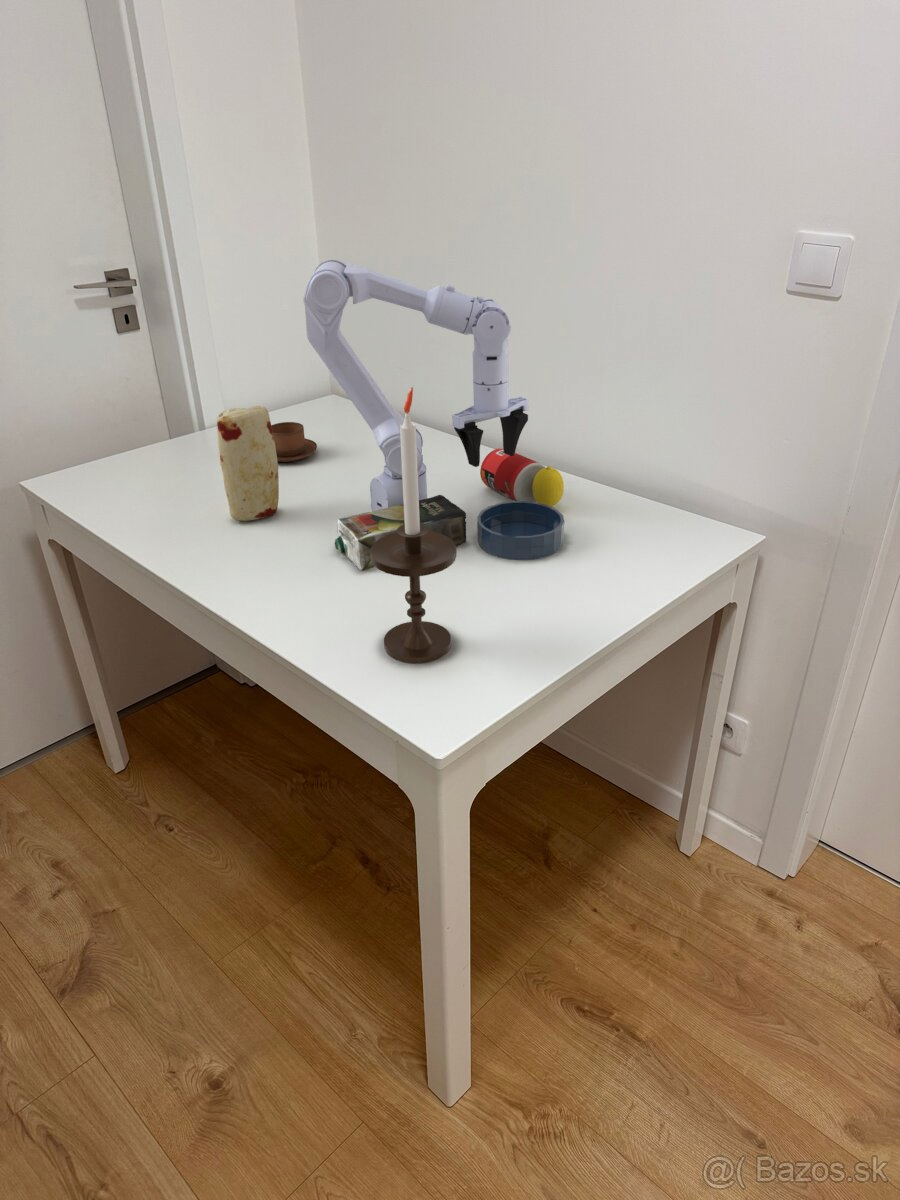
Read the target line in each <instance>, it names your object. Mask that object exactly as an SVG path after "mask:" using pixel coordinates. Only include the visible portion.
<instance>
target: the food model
mask: <svg viewBox="0 0 900 1200" xmlns="http://www.w3.org/2000/svg"><path fill="white" fill-rule="evenodd" d="M271 425H272V422H271V418H270V414H269V410H268V409H267V407H266V406H262V405H256V406H250V407H236V408H229V409H226V410H223V411H221V412H220V413H219V414H218V415H217V417H216V430H217V444H218V452H219V453H218V454H219V462H220V466H221V472H222V473H221V474H222V478H223V485H224V491H225V495H226V499H227V503H228V507H229V508H228V509H229V510H228V511H229V516H230V517H231V519H234V520H237V521H241V522H242V521H243V522H245V521H254V520H261V519H263V518H269V517H272V516H274V515H275V514H276V513H277V510H278V508H279V499H280V497H279V496H280V484H279V462H278V461H277V455H276V448H275V442H274V436H273V432H272V427H271Z"/></svg>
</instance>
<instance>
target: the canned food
mask: <svg viewBox="0 0 900 1200" xmlns="http://www.w3.org/2000/svg"><path fill="white" fill-rule="evenodd" d="M546 467H547V466H545V465H544V464H542V463H540V462H538V461H536V460H534V459H531V458H529V457H526V456H524V455H522V454H519V453H518V452H515V454H514V456H510V455H507V454H505V453H504V449H503V448H495V449H492V451H490V452H489V453H487V455H486V456H485V457H484V459H483V460H482V463H481V465H480V469H479V476H480V479H481V481H482V483H483V484H484V485H485V486H486V487H487V488H489V489H491V490H493V491H494V492H496V493H499V494H501V495H503V496H504V497H506V498H509V499H511V500H512V501H528V502H536V500H535V499H534V496H533V491H532V485H533V481H534V478H535V476H536V474H537V473H538V472H539V471H540V470H541V469H543V468H546Z"/></svg>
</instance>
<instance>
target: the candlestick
mask: <svg viewBox="0 0 900 1200" xmlns="http://www.w3.org/2000/svg"><path fill="white" fill-rule="evenodd" d="M410 389H411V390H410V391H409V392H408V393H407V395H406V401H405V403H404V407H403V411H404V413H405V414H404V423H403V424H402V425H400V439H401V459H402V479H403V499H404V519H405V525H402V526H400V527H399V528H398V529H397V532H396V533H392V534H389V535H386V536H384V537H382V538H380V539H379V540H377V541H376V542H375V543H374V544H373V545H372V547H371V551H370V554H371V561H372V564H373V565H374V568H376V569H377V570H379V571H381V572H383V573H385V574H388V575H392V576H396V577H397V576H398V577H407V578H408V579H409V590H407V591H405V594H404V599H405V601H406V603H407V604H408V605H409V608H408V609H407V610H406V615H407V617H409V618H411V620H410V621H408V622H407V621H406V622H403V623H400V624H397V625H396V626H394V627H391V629H389V630H388V631H387V632H386V634H385V635H384V637H383V648H384V651H385V653H386V654H387V656H388V657H390V658H391V659H393V660H396V661H398V662H401V663H405V664H426V663H431V662H434V661H437V660H439V659H441V658H443V657H444V656H446V654H448V653H449V652H450V650H451V647H452V635H451V633H450V632H449V630H448V629H447V628H446V627H444V626H443V625H441V624H438V623H436V622H431V621H426V620H425V621H423V619H422V618H423V617H424V616H425V615H426V609H425V608H424V607H423V604H424V603H425V601H426V600H427V593H426V592H425V591H424V590H422V589H421V577H423V576H424V577H425V576H430V575H434V574H437V573H440V572H442V571H444V570H447V569H448V568H450V567H451V566H452V565H453V564H454V563H455V561H456V559H457V546H456V545H455V543H454V541H452V540H451V539H450V538H449V537H447V536H445V535H442V534H440V533H436V532H431V531H428V528H427V527H426V526H425V525H422V524H420V518H419V494H418V469H417V444H416V429H417V425H416V424H415V423H413V422H412V419H411V414H410V411H411V407H412V404H413V394H414V387H413V386H411V387H410Z"/></svg>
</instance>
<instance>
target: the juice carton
mask: <svg viewBox="0 0 900 1200" xmlns="http://www.w3.org/2000/svg"><path fill="white" fill-rule="evenodd" d="M419 518H420V524H422V525H425V526H426V527H427V528H428V531H431V532H436V533H440V534H442V535H445V536H447V537H449V538H450V539H451V540H452V541H454V543H455V545H456V547H459V546H462V545H464V544H466V543H467V520H466V519H467V513H466V511H465V510H464V509H462V508H460V506H458V505H457V504H455V503H454V502H452V501H451V500H450V499H448V498H447V497H446V496H444V495H443V494H437V495H435V496H431V497H427V499H423V500H419ZM402 525H405V519H404V504H400V505H396V506H393V507H389V508H385V509H379V510H376V511H372V510H371V511H368V512H363V513H362V512H361V513H359V514H354V515H350V516H346V517H341V518H338V519H337V533H338V534H337V535H338V537H337V538H335V539H334V547H335V550H338V551H339V552H340V553H341V554H343V555H345V556H346V557H347V558H348V559H349V560H350V561H351V562H352V563H354V565H355V566H356V567H357V568H358V569H359V571H366V570H369V569H373V568H375V566H374V565H373V564H372V561H371V554H370V551H371V547H372V545H373V544H374V543H375V542H376V541H377V540H379V539H380V538H382V537H384V536H386V535H389V534H392V533H396V532H397V529H398V528H399V527H400V526H402Z"/></svg>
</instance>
